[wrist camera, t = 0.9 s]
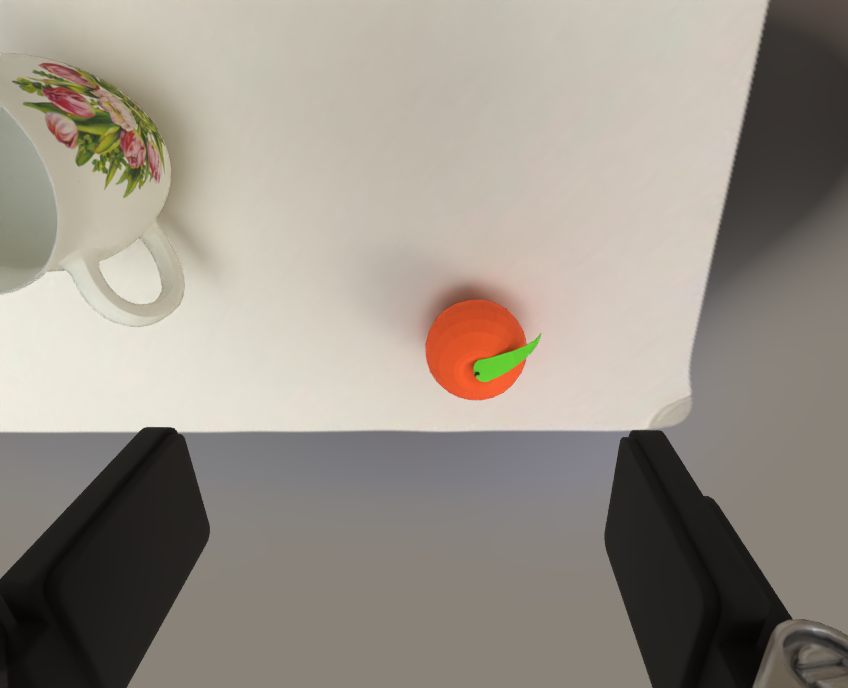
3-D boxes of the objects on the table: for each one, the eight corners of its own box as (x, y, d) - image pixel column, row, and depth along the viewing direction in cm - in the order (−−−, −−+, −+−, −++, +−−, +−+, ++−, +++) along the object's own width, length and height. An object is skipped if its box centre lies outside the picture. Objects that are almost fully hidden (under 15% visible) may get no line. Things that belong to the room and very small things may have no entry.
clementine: (515, 265, 36) (529, 300, 29) (546, 347, 38) (565, 396, 32) (412, 306, 38) (404, 347, 31) (449, 381, 40) (447, 434, 34)
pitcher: (164, 313, 39) (29, 412, 27) (-30, 90, 33) (-323, 84, 20) (275, 240, 36) (180, 313, 24) (83, -19, 30) (-179, -105, 18)
